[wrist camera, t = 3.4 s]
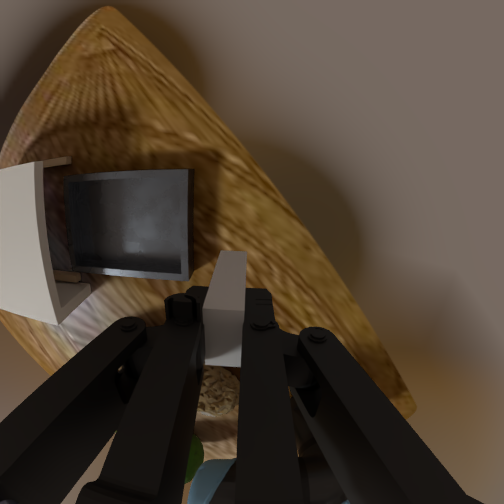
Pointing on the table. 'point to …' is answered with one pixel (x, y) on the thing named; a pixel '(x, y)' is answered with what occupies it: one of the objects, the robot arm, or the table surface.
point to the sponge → (217, 391)
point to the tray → (131, 223)
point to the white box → (32, 250)
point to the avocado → (194, 458)
